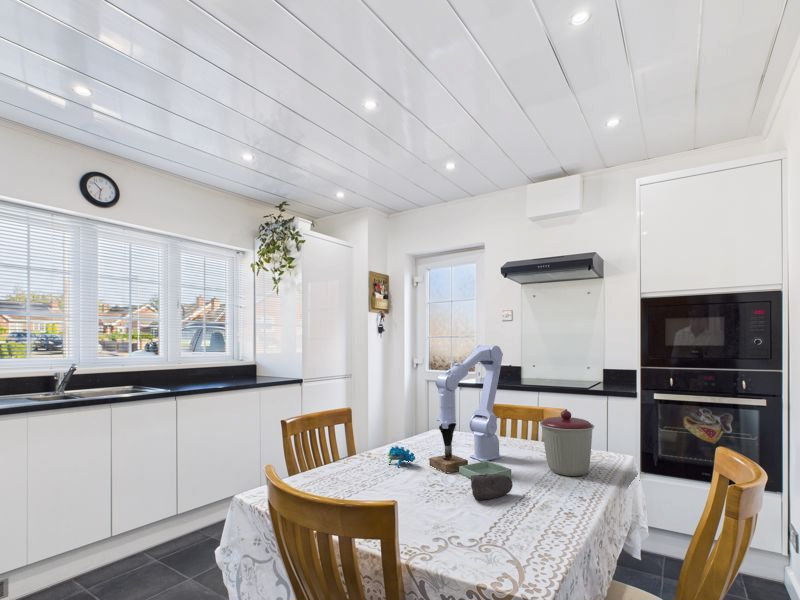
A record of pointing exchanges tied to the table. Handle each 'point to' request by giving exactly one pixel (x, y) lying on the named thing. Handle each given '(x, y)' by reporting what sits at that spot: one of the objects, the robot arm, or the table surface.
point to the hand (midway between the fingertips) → (448, 444)
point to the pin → (448, 451)
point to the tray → (484, 469)
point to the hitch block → (447, 463)
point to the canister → (567, 444)
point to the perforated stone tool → (490, 486)
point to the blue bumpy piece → (400, 455)
